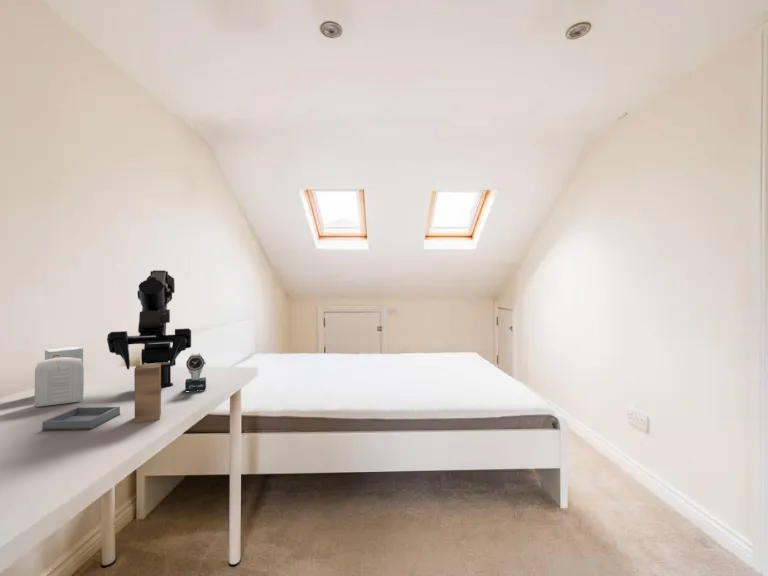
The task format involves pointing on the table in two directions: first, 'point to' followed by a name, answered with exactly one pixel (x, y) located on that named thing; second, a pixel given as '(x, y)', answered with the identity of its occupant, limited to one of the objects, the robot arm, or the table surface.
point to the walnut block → (147, 392)
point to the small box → (64, 353)
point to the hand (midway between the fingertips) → (149, 366)
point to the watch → (195, 373)
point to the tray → (80, 418)
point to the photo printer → (59, 381)
